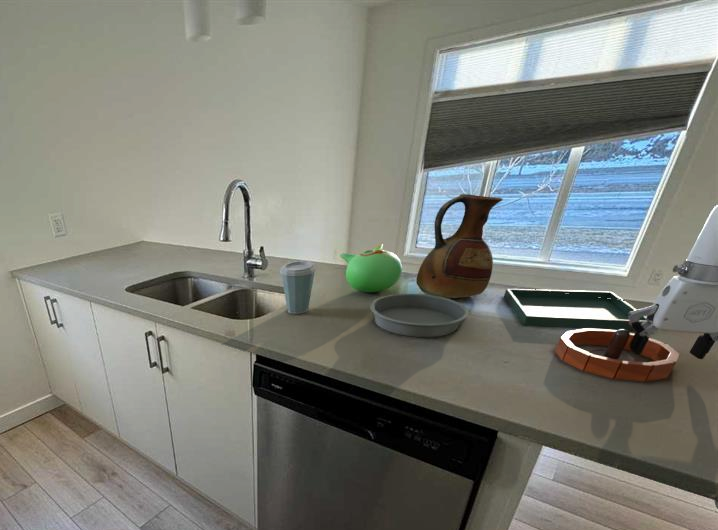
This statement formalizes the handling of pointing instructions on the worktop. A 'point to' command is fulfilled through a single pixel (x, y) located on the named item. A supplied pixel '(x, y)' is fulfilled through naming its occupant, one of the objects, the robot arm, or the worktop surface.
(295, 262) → the disposable coffee cup
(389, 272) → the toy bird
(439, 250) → the ceramic pitcher
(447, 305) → the cake pan
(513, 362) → the worktop surface
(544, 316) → the tray
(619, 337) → the post
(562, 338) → the ring
